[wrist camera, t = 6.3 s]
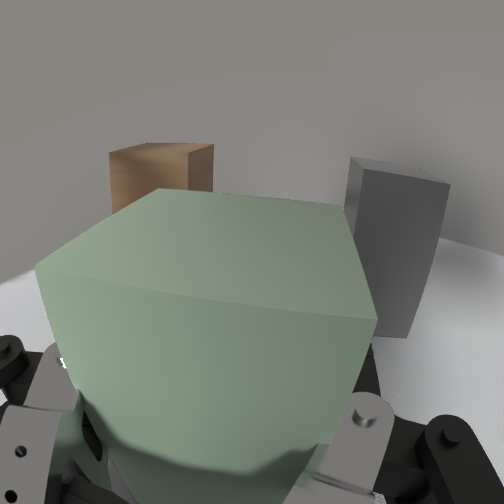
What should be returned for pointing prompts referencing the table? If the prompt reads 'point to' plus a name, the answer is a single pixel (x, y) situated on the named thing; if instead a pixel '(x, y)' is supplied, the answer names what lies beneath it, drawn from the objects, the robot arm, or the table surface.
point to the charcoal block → (394, 235)
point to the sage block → (211, 339)
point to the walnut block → (159, 170)
